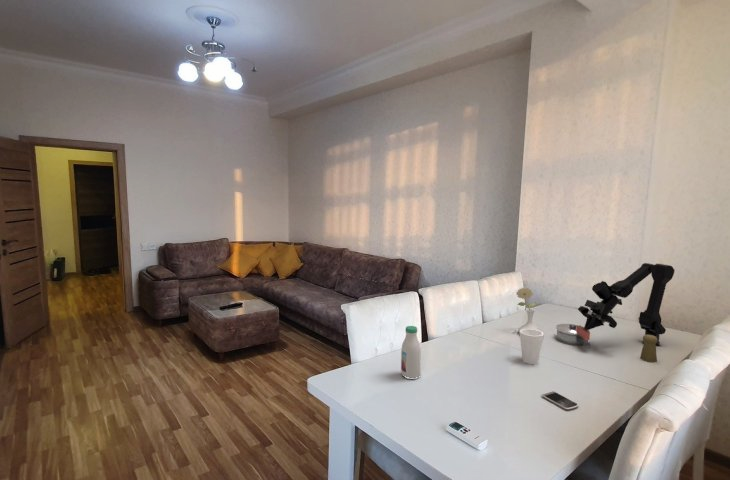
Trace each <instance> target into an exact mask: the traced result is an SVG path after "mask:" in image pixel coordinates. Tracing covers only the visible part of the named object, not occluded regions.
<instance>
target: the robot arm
mask: <svg viewBox="0 0 730 480" xmlns="http://www.w3.org/2000/svg"><path fill="white" fill-rule="evenodd" d="M675 272H676V271H675V269H674V267H673V266H672V265H669V264H664V263H655V264H653V263H649V262H648V263H647V262H644V263H641V266H640V267H639V268H638V269H635V270H634V272H632V273H631V274H630V275H629V276H627V277H626V278H624V279H622V280H618V281H616V282H615V283H612V284H611V285H609V284H608V283H607V281H605V280H601V282H598V283H595V284H593V286H592V287H591V289H592V292H594V294H595V295H596V296H597V297H598V298H599V299H600V301H596V302H595V301H593V300H590V299H586V301H585V304H584V306H583V305H582V306H581V305H580V306H579V307H578V308H577V311H579V312H580V313H581V315H582V316H584V318H586V321H585V323H584V326H583V327H584V328H585V329H586V330H589V331H591V330H592V329H594V328H598V327H603V326H605V323H608V326H609V327H610V328H611V329H616V327H617V325H618V322H617V321H616V320H615V318H614V317H612V316H611V315H609V314H613V309H614V308H615V307H616V306H617V305H619V306H622V305H623V301H622V299H621V298H624V299H626V298H627V297H629V296H630V295H631V294H632V292H633V291H634V288H635V287H636V286H637V285H638V284H640V283H641V282H642V281H643V280H645V279H646V278H647V277H648V276H649V275H651V277H652V280H653V283H652V287H651V290H650V295H649V298H648V303H647V307H646V309H645V310H644V311H640V312H639V317H638V323H639V326H640V329H641V330H644V335H653V336H655V337H657V343H656V347H660V345H661V341H660V336H661V335H664V334H665V333H666V327H664V326H663V324H662V316H661V314H660V311H661V306H662V301H663V300H664V299H663V297H664V294H665V290H666V286H667V284H668V283H669V282H670V281H671V280H673V277H674V274H675ZM619 297H620V298H619ZM642 344H644V341H643V340H642Z"/></svg>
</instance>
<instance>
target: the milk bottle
mask: <svg viewBox="0 0 730 480" xmlns="http://www.w3.org/2000/svg"><path fill="white" fill-rule="evenodd" d="M417 334H418V327H417V326H414V325H407V326H405V338H404V340H403V342H402V344H401V353H400V354H401V359H400V365H401V366H400V375H401V374H402V375H404V376H406V377H409V378H416V377H419V376H420V377H421V372H422V371H421V369H422V368H421V364H422V363H421V360H422V356H421V355H422V352H421V351H422V350H421V349H422V348H421V343H420V341H419V339H418V335H417ZM402 375H401V376H402ZM420 377H419V378H420Z"/></svg>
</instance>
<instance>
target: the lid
mask: <svg viewBox="0 0 730 480" xmlns="http://www.w3.org/2000/svg"><path fill="white" fill-rule="evenodd" d="M555 328H556V331H557V330H558V331H560V332H562V333H566V334H570V335H578V336H581V337H582V338H583V339H585V340H588V341H590V339H591V338H590V337H591V332H590V331H591V330H586V329H585V328H584V326H582V325H580V324H579V325H578V324H573V323H560V324H557V325H556V327H555Z"/></svg>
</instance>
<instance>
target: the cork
mask: <svg viewBox="0 0 730 480" xmlns="http://www.w3.org/2000/svg"><path fill="white" fill-rule="evenodd" d="M643 341H644V343H643V346H642V350H641V352H640V353H641V354H640V360H641V361H644V362H647V363H658V356H657V346H656V343H657V337H655V336H653V335H645V334H644V335H643V337H642V342H643Z"/></svg>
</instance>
